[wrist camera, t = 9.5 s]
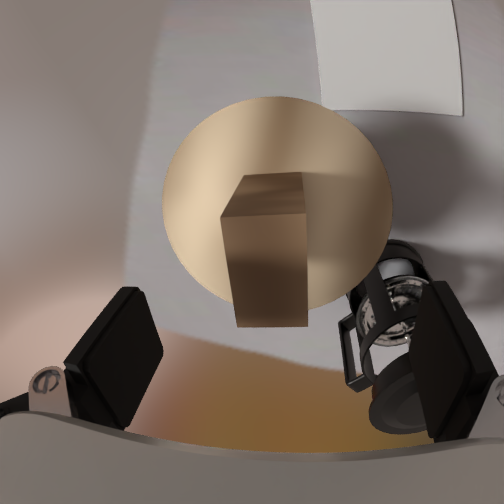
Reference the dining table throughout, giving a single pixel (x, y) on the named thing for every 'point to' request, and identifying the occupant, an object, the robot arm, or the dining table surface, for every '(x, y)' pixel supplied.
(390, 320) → the french press
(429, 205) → the dining table surface
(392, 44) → the mat
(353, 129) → the lid
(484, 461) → the robot arm
